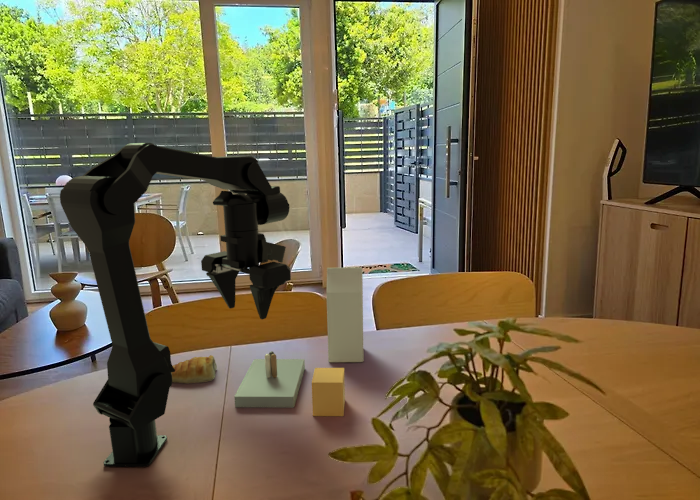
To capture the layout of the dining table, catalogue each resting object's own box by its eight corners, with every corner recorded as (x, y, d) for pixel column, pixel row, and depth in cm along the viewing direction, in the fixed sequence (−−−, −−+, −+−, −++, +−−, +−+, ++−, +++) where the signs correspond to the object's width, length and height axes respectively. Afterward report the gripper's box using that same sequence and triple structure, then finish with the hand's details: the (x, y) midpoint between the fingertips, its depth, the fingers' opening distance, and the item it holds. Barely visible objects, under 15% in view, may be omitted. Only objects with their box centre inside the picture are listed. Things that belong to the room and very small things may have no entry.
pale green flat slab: (293, 407, 78) (292, 371, 76) (235, 407, 78) (232, 371, 76) (304, 368, 91) (303, 337, 90) (254, 368, 92) (252, 337, 90)
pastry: (163, 389, 85) (161, 370, 84) (168, 372, 91) (166, 354, 90) (216, 382, 87) (214, 363, 86) (217, 366, 93) (215, 349, 92)
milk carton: (363, 362, 93) (362, 272, 89) (328, 363, 93) (325, 272, 89) (363, 347, 100) (362, 263, 96) (330, 348, 100) (328, 263, 96)
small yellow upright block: (343, 416, 75) (342, 382, 73) (312, 416, 75) (311, 382, 74) (344, 399, 80) (344, 367, 78) (316, 399, 80) (315, 367, 78)
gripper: (311, 227, 81) (314, 311, 84) (245, 219, 93) (250, 293, 96) (262, 237, 73) (267, 330, 76) (196, 226, 84) (203, 307, 88)
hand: (247, 313), depth 84 cm, fingers open, 9 cm apart
